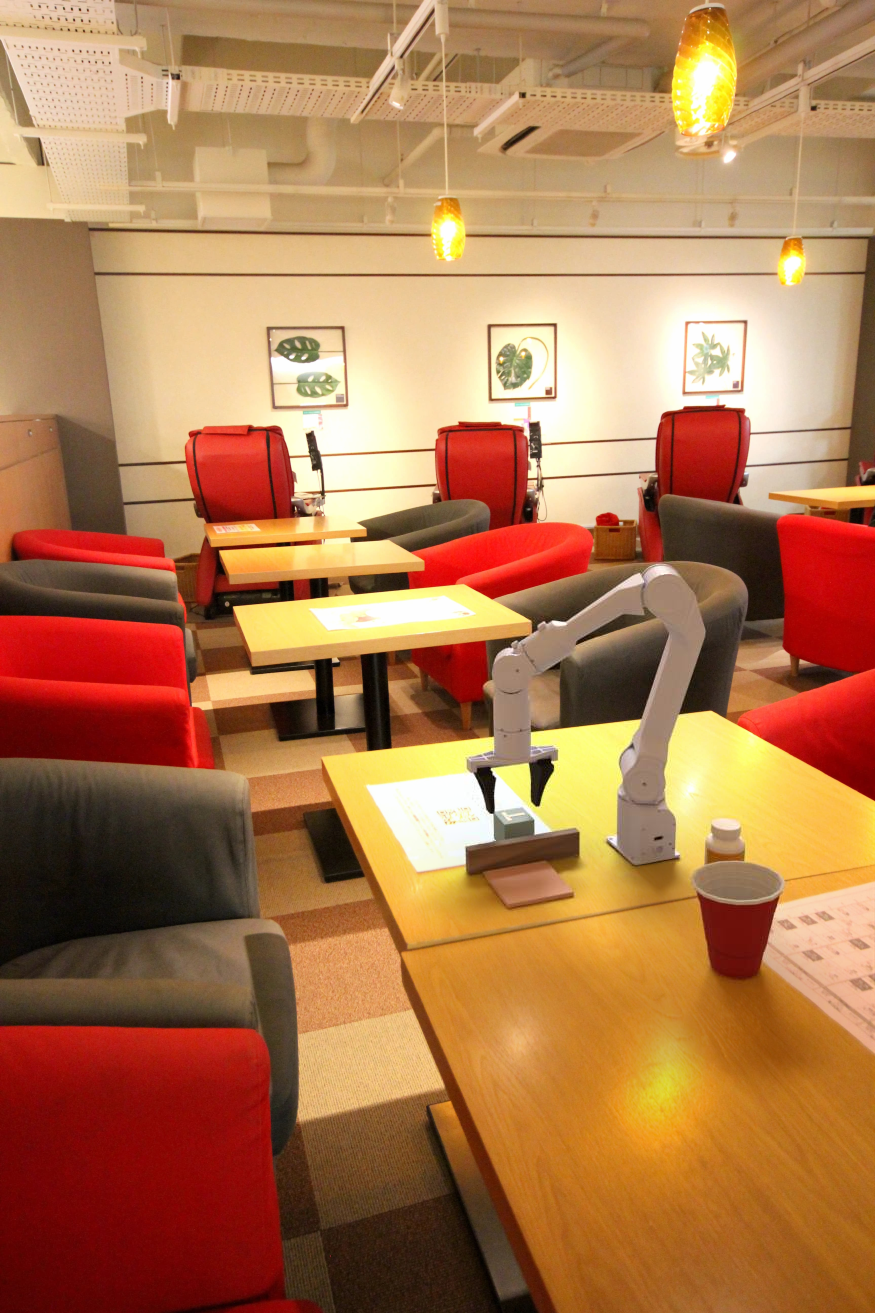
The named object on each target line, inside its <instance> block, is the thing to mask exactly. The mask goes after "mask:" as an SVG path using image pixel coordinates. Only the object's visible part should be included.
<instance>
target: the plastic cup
mask: <svg viewBox="0 0 875 1313" xmlns="http://www.w3.org/2000/svg"><path fill="white" fill-rule="evenodd" d="M689 880H690V882H691V885H692V888H693V890H694V891H695V892H696V894H697V897H698V901H699V907H700V913H701V918H702V925H703V931H704V937H705V941H706V948H707V955H708V960H709V963H710V966H711V969H712V970H714V972H716V974H719V975H721V976H722V977H725V978H727V979H731V980H748V979H753V978H754V977H755V976H757V975H758V973H759V971H760V968H761V966H762V961H763V957H764V953H765V952H766V950H767V949H766V948H767V946H768V941H769V938H770V933H771V930H772V925H773V922H774V921H773V920H774V917H775V913H776V910H777V906H778V903H779V900H780V897H781V895H782V894H783V892H784V889H785V886H786V884H787V882H786V880H785V879H784V877H783V876H782V874H781V873H780V872H778V871H776V870H774V868H771V867H769V866H766V865H763V864H759V863H756V862H749V861H745V860H744V861H719V862H715V863H710V864H706V865H704V864H703V865H702V866H700V867H698V868H696V869H695V870H693V872H692V874H691V875H690V878H689Z"/></svg>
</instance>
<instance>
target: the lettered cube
mask: <svg viewBox="0 0 875 1313" xmlns="http://www.w3.org/2000/svg"><path fill="white" fill-rule="evenodd" d="M492 815H493V840H494V839H495V840H496V841H500V840H506V839H512V838H518V837H524V836H530V835H536V834H535V818H534V817H533V816H531V814H530V813H528V811H527V810H526V809H525V808H524V807H516V808H515V807H514V808H509V809H504V810H503V809H502V810H495V813H494V814H492Z"/></svg>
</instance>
